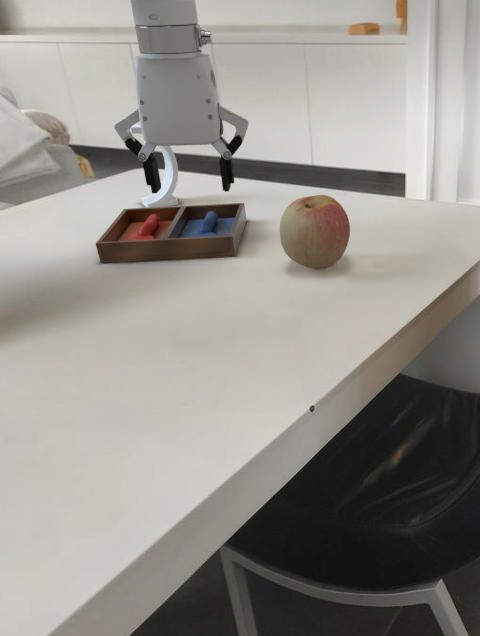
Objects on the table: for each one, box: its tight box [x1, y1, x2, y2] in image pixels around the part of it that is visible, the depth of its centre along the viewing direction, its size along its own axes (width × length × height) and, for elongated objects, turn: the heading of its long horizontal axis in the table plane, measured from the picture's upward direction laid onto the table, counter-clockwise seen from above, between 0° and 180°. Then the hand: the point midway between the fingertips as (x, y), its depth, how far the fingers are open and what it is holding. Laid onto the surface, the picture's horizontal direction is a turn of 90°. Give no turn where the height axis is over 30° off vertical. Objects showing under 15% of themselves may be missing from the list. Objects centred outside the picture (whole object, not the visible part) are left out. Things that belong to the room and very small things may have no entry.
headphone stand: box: [130, 123, 180, 208], centre depth 110 cm, size 5×6×12 cm
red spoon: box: [126, 214, 160, 241], centre depth 96 cm, size 4×12×2 cm, turn 2°
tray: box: [95, 202, 247, 264], centre depth 97 cm, size 18×16×3 cm
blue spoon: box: [189, 211, 217, 238], centre depth 96 cm, size 4×12×2 cm, turn 2°
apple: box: [279, 194, 351, 270], centre depth 85 cm, size 9×9×8 cm
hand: (192, 190), depth 94 cm, fingers open, 9 cm apart
